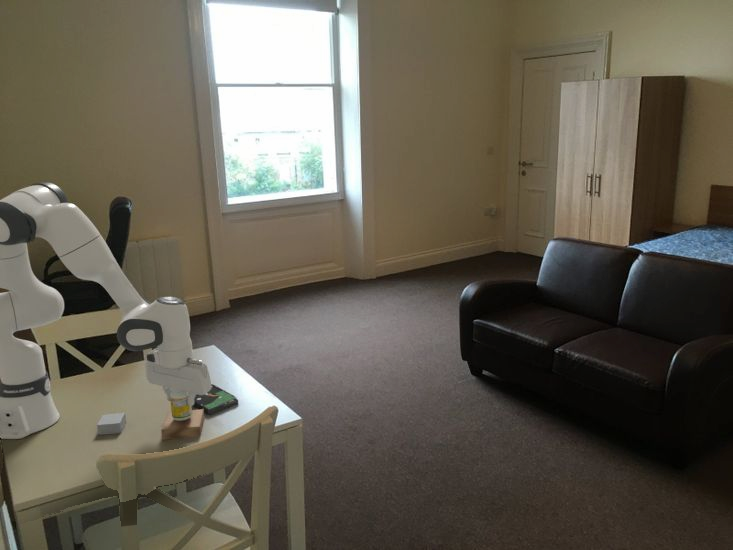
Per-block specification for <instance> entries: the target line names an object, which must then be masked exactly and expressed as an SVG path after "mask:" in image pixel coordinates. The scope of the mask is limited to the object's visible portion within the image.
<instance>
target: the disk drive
mask: <svg viewBox="0 0 733 550" xmlns="http://www.w3.org/2000/svg"><path fill="white" fill-rule="evenodd" d="M194 402H195V403H194V405H192V406H191V407H194V408H195V409H196V410H200V409H204V415H206V416H208V417H211V416H213V415H216V414H218V413H221V412H223V411H225V410H228V409H231V408H233V407H236V406H238V405H239V399H238V397H236V396H235V395H234V394H232V393H229V392H227V391H226V390H224V389H222V388H220V387H219V386H217V385H216V384H213V383H211V389H210V391H209V392H207V393H206V394H204V395H198V394H196V396H195V398H194Z"/></svg>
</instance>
